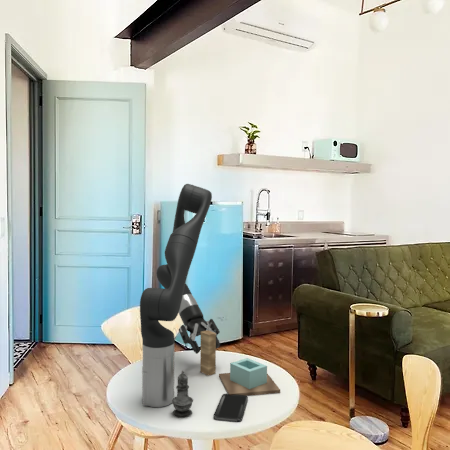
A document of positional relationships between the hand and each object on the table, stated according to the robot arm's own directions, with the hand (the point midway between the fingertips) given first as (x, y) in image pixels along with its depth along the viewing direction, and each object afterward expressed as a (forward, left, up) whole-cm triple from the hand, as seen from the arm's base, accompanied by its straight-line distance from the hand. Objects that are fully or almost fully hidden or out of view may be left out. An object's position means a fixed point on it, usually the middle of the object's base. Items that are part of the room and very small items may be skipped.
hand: (208, 349), depth 153 cm
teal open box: (+11, -12, -8) cm, 18 cm away
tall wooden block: (0, 0, -8) cm, 8 cm away
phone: (+2, -27, -9) cm, 28 cm away
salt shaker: (-12, -27, -8) cm, 31 cm away
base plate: (+11, -12, -8) cm, 18 cm away
